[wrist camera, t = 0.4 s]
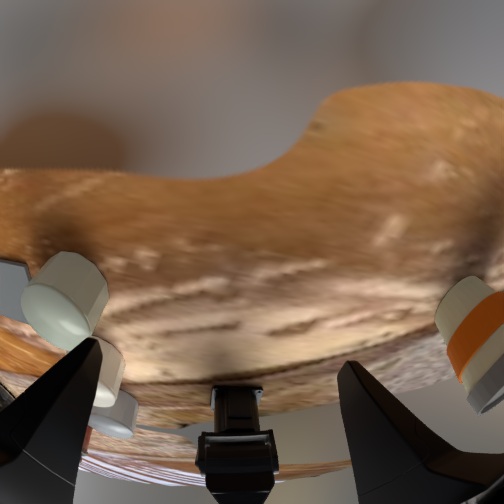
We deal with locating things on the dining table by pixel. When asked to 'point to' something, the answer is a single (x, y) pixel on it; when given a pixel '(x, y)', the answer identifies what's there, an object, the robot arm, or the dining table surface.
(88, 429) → the lighter
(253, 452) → the robot arm
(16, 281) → the slate coaster
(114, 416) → the light grey cylinder
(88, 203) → the dining table surface
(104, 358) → the cream cup
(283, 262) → the dining table surface
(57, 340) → the sage cup
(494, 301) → the reusable coffee cup
